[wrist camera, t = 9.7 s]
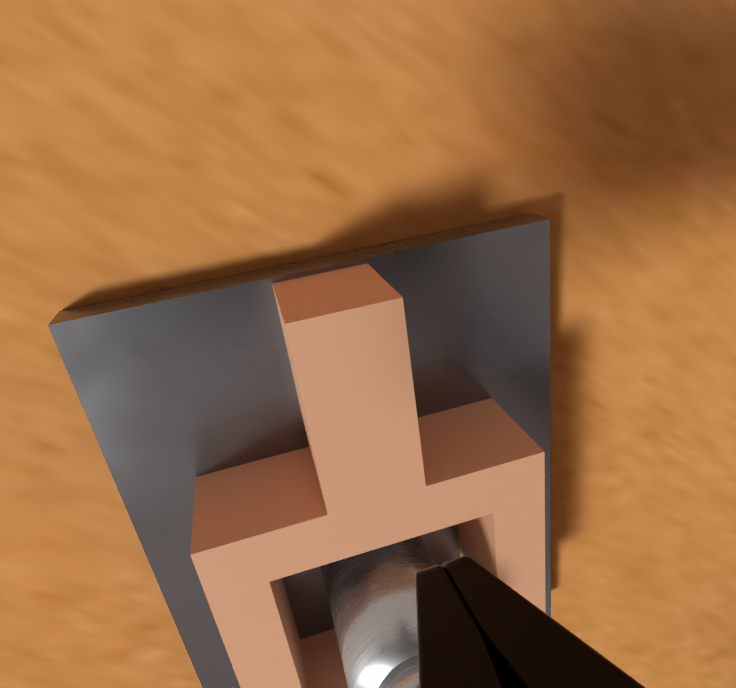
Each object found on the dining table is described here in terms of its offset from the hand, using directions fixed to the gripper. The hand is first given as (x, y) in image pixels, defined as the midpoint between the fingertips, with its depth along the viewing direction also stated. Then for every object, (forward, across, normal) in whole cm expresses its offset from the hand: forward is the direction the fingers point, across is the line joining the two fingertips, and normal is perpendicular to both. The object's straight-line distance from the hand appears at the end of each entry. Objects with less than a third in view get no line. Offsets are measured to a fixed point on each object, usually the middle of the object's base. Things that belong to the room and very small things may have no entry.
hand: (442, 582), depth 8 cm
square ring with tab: (+8, 0, +4) cm, 9 cm away
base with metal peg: (+9, 0, +5) cm, 10 cm away
